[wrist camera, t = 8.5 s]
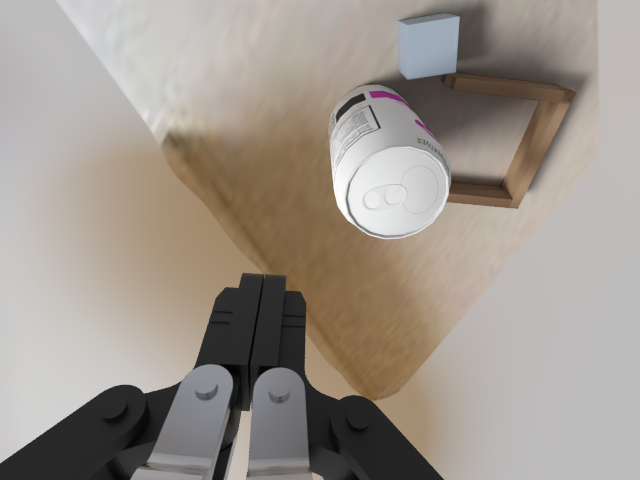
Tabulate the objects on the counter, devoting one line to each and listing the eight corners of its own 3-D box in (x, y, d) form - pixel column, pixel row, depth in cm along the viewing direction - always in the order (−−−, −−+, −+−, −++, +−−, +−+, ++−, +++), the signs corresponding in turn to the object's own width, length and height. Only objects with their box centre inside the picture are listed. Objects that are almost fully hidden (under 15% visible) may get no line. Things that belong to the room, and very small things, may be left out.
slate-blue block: (397, 20, 31) (407, 25, 28) (444, 12, 31) (459, 16, 28) (398, 70, 33) (407, 79, 30) (441, 63, 33) (455, 72, 30)
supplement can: (405, 73, 33) (457, 122, 21) (412, 155, 38) (458, 234, 26) (320, 94, 34) (323, 152, 22) (337, 171, 39) (348, 255, 27)
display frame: (446, 71, 33) (456, 78, 31) (557, 84, 34) (575, 92, 32) (412, 186, 40) (418, 199, 38) (505, 195, 41) (517, 208, 39)
